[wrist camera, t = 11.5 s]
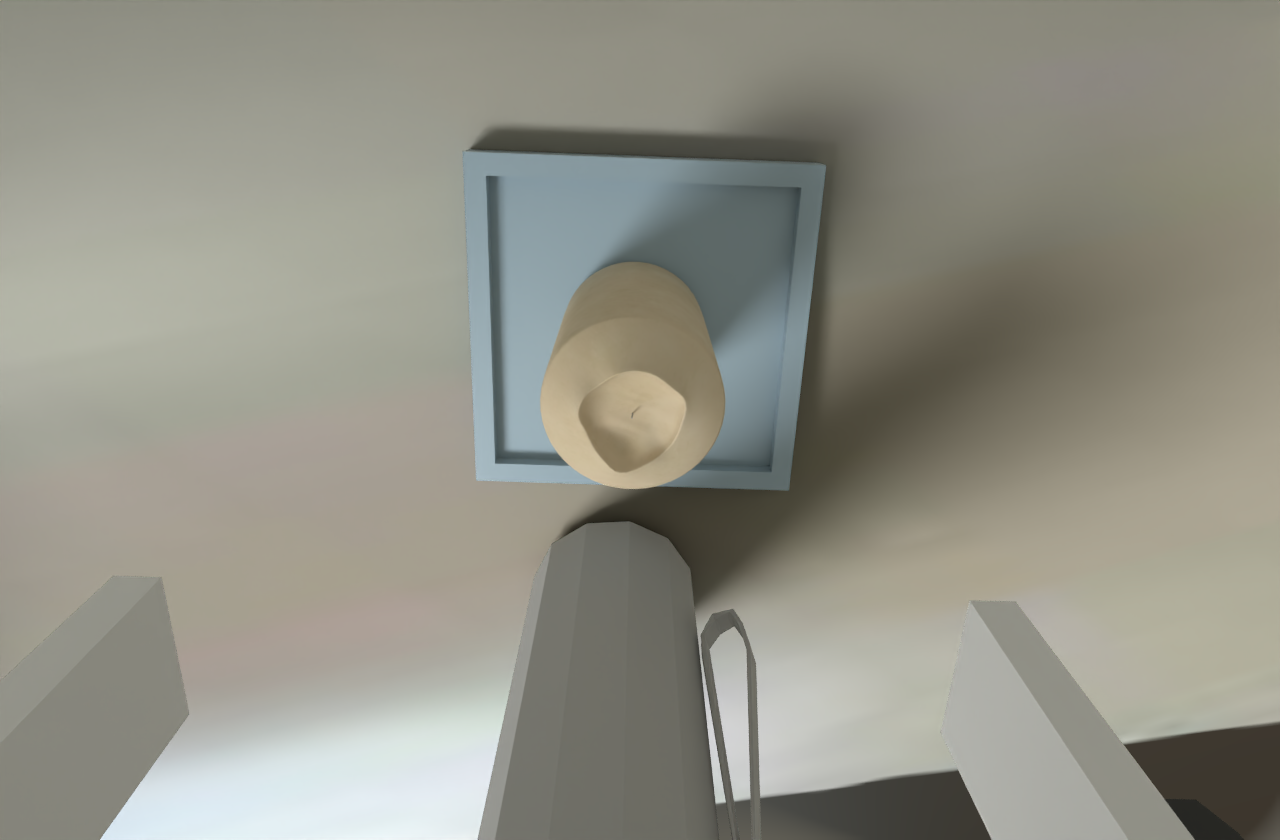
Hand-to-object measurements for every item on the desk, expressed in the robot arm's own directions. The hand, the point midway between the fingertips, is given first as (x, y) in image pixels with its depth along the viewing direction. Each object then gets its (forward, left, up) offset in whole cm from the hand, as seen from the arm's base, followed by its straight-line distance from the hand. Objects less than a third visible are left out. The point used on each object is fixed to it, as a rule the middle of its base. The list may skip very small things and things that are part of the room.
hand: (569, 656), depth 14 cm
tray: (+1, 0, -21) cm, 21 cm away
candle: (+1, 0, -20) cm, 20 cm away
